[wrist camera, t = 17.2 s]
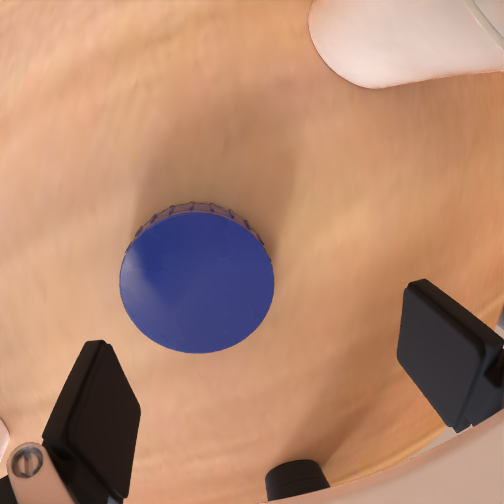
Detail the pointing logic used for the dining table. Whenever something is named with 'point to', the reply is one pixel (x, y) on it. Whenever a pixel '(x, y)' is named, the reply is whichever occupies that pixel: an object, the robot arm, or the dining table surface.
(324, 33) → the jar
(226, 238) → the lid
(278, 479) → the drinking cup
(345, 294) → the dining table surface
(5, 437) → the cylindrical container
